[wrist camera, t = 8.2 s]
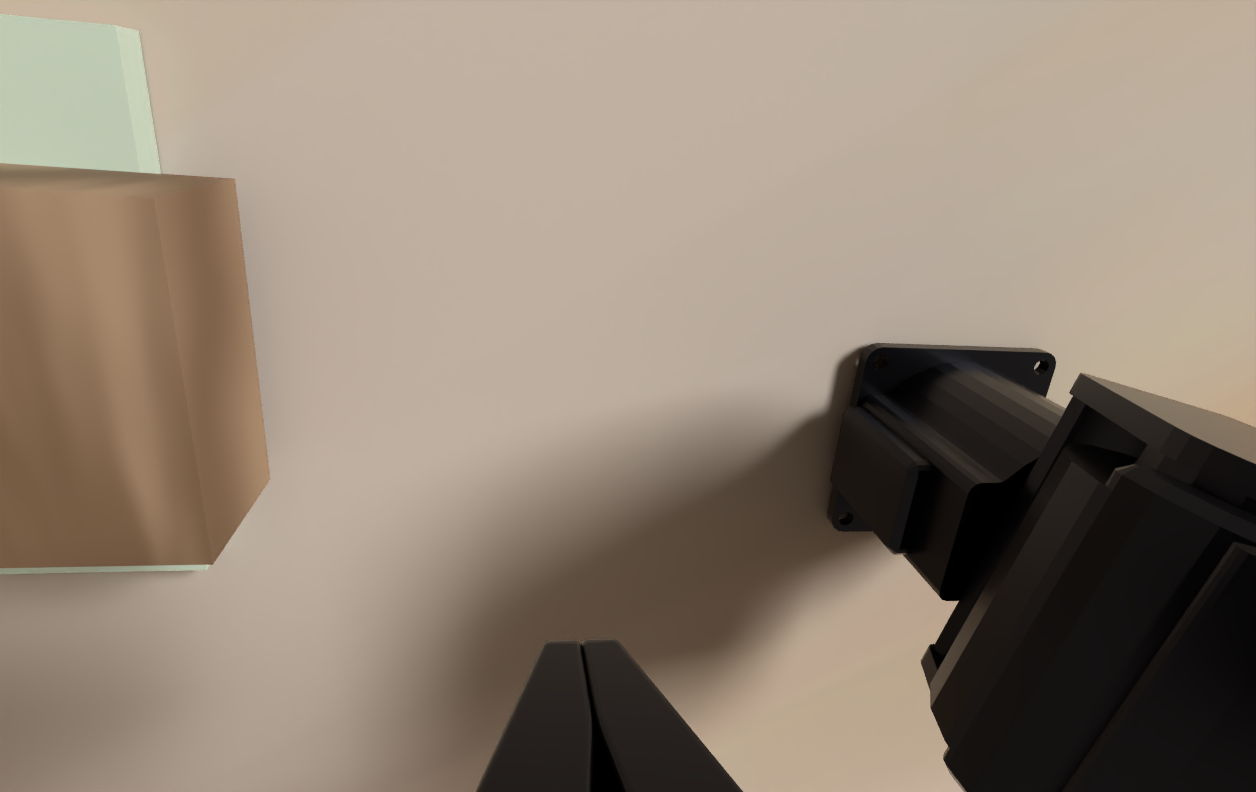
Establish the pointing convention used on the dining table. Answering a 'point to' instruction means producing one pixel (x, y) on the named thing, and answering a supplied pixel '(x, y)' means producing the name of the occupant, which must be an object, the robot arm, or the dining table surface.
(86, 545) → the walnut block
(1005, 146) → the dining table surface
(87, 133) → the rubber pad
